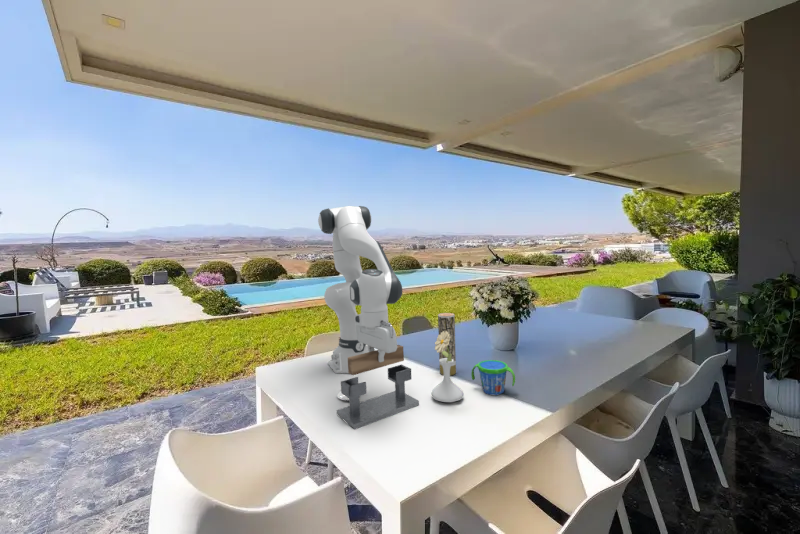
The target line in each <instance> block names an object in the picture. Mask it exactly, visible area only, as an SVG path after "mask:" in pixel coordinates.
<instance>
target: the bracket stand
mask: <svg viewBox="0 0 800 534" xmlns="http://www.w3.org/2000/svg"><path fill="white" fill-rule="evenodd" d="M387 379H388V380H389V381H391V382H392V383H394V391H391V392H388V393H385V394H382V395H379V396H376V397H372V398H370V399H366V400H364V401H361V402H360V397H361V396H364V395H367V382H366V381H361V382H359V376H357V377H353V378H348V379H345V380H341V381H340V391H341V393H342V394H343V395H345V396H344V397H346V398H347V399H348V401H349V402H348V403H349V405H348V406H346V407H343V408H339V409H337V410H336V415H337V414H338V415H339V416H340V417H341V418H340V417H339V416H338V415H337V416H338V417H339V418H340V419H341V420H343V419H344V420H345V421H346V422H347V423H348V424H347V423H346V422H345V421H344V420H343V421H344V422H345V423H346V424H347V425H349V426H350V427H351V426H352V427H353V428H354V430H357V429H359V428H361V427H364V426H367V425H369V424H370V425H371V424H372V423H375V422H377V421H378V422H379V421H381V420H383V419H386V418H388V417H391V416H393V415H396V414H398V413H402V412H404V411H407V410H409V409H412V408H415V407H418V406H420V400H418V399H416V398H415V397H413V396H411V395H409V394H407V393H406V387H405V386H406V384H405V382H408V381H411V380H412V368H410V367H408V366H406V365H404V364H398V365H395V366H391V367H387ZM352 427H351V428H352ZM353 428H352V429H353ZM356 428H357V429H356Z"/></svg>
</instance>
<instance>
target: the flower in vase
mask: <svg viewBox="0 0 800 534" xmlns="http://www.w3.org/2000/svg"><path fill="white" fill-rule="evenodd" d="M449 341H450V336H449V334H448V332H447V331H446V332H445V333H444V331H443V332H441V335H439V334H438V335H437V337H436V341H435V342H434V345H435V346H434V351H436V353H437V354H439V353H440V352H442V354H443V355H444V356H446V357H448V358H442V359H440V360H438V361H440V362H441V364H442V367H443V372H444V375H443V378H442V379H443V380H442V381H441V382H440V383H438V385H436V386H435V387H434V388H432V390H431V393H430V394H431V395H430V396H432V398H433V399H435V400H436V401H439V402H443V403H454V402H457V401H460V400H461V399H462V398H463V397H464V390H462V389H461V387H460V386H458V385H457V384H456V383H454V382H453V381H452V380H451V376H450V367H451V364H452V362H453V361H454V360H453V359H451V354H448V353H449V349H448V347H447V345H449ZM446 348H447V349H448V353H447V352H446V351H445V349H446Z"/></svg>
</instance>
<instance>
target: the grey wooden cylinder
mask: <svg viewBox="0 0 800 534" xmlns="http://www.w3.org/2000/svg"><path fill="white" fill-rule="evenodd" d="M455 317H456V316H455V313H453V312H452V313H451V312H441V313H439V314H437V323H438V324H437V325H438V327H437V328H438V335H441V332H443V331H444V333H445V332H446V331H447V332H448V334H449V336H450V341H449V345H447V347H448V349H449V353H448V349H447V348H446V349H445V351H446V352H447V353H448V354H451V359H453V360H454V361H453V362H452V364H451V367H450V377H451V376H454V375H456V373H457V366H456V365H457V364H456V363H457V362H456V361H457V360H456V359H457V358H456V357H457V355H456V353H457V352H456V326H455V325H456V320H455V319H456V318H455ZM438 357H439V360H440V359H442V358H448V357H446V356H444V355H443V354H442V352H440V353H439V352H438ZM439 360H438V361H439ZM439 373H440V374H441V375H442V376H444V372H443V367H442V364H441V362H440V361H439Z"/></svg>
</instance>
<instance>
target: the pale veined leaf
mask: <svg viewBox="0 0 800 534" xmlns="http://www.w3.org/2000/svg"><path fill="white" fill-rule="evenodd" d="M340 396H343V394H342V393H341V390H340V391H339V393H337V398H338V399H339V400H343V401H345V399H344V398H343V397H344V396H343V397H342V398H343V399H342V398H341V397H340Z"/></svg>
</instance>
